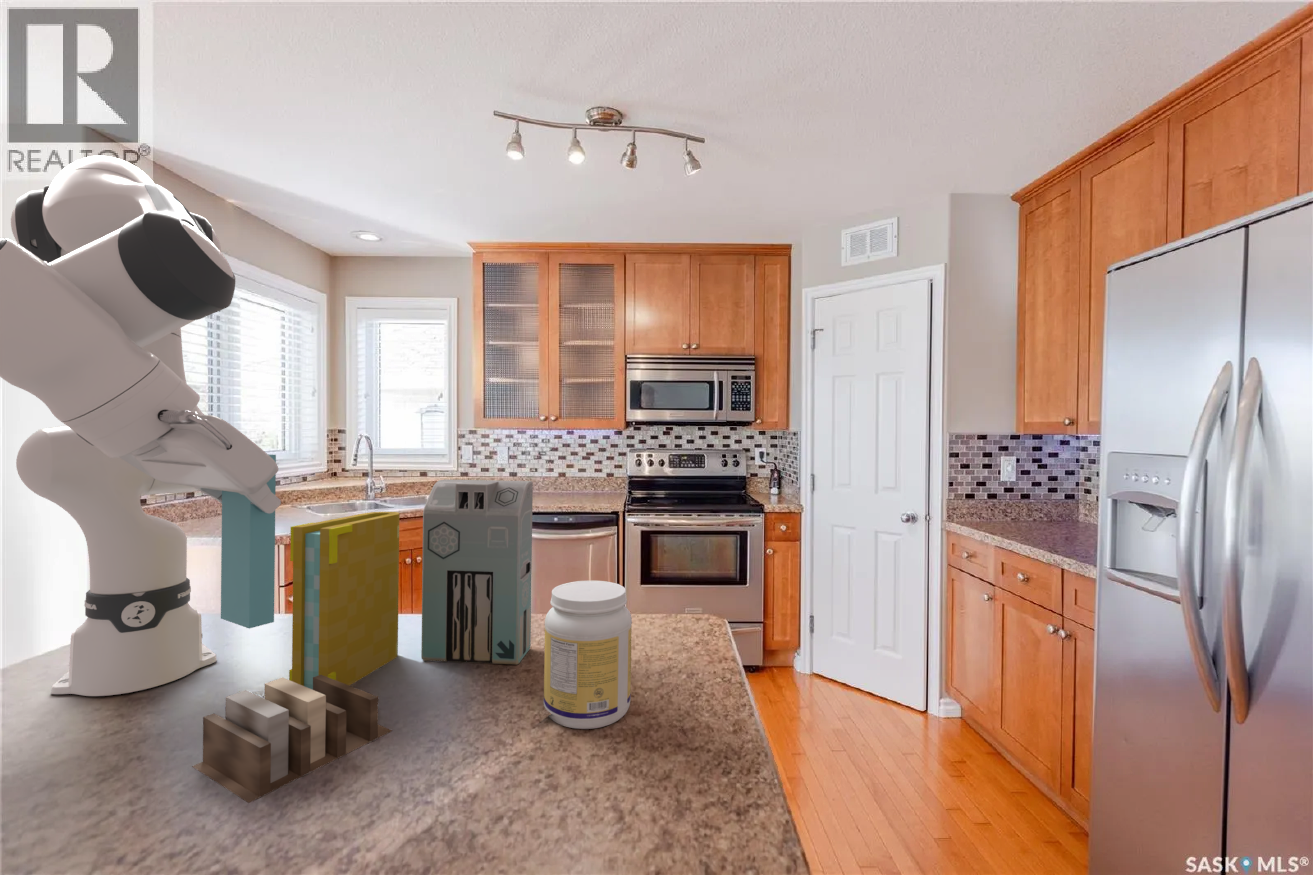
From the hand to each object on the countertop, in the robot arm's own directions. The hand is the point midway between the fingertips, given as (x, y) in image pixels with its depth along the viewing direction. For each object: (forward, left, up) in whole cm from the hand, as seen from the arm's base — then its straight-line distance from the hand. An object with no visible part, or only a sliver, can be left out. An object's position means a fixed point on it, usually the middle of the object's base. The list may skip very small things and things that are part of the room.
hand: (254, 505), depth 62 cm
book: (-21, +15, -31) cm, 40 cm away
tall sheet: (0, -1, -12) cm, 12 cm away
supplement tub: (+9, +38, -31) cm, 49 cm away
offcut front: (0, 0, -29) cm, 29 cm away
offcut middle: (-1, +4, -29) cm, 29 cm away
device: (-19, +34, -31) cm, 49 cm away
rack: (-2, +5, -30) cm, 31 cm away
